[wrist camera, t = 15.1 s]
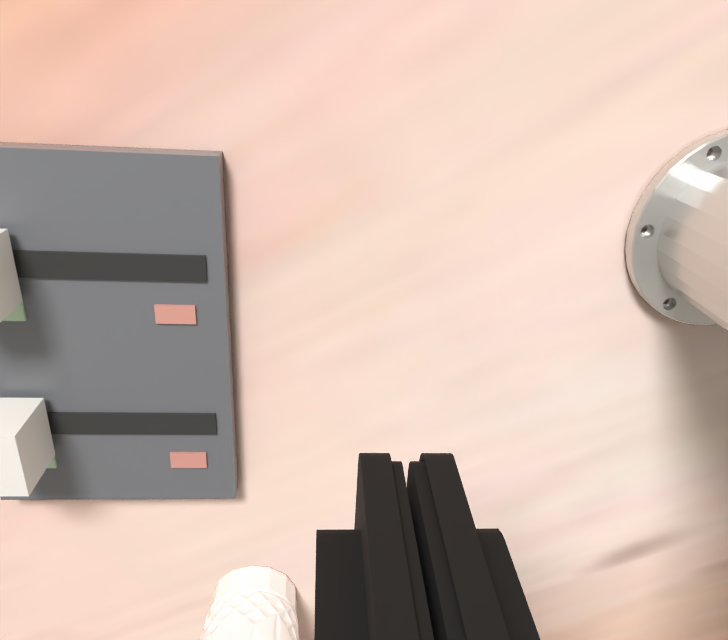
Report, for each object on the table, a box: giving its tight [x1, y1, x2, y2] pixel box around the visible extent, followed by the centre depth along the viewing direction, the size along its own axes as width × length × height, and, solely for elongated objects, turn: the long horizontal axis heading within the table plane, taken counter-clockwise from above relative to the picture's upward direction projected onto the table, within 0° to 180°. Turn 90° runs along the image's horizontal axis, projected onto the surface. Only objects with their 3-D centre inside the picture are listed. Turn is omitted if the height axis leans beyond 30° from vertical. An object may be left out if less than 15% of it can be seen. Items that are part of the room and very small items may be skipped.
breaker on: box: [0, 398, 55, 496], centre depth 37 cm, size 3×4×4 cm
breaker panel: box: [0, 142, 238, 500], centre depth 38 cm, size 16×24×2 cm, turn 177°
